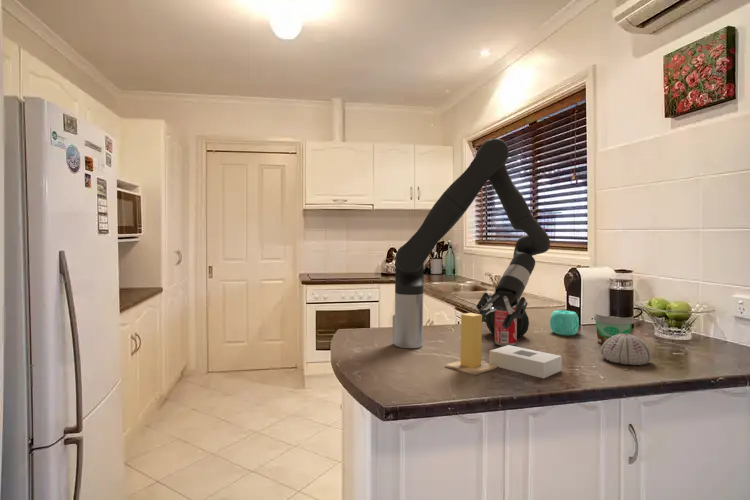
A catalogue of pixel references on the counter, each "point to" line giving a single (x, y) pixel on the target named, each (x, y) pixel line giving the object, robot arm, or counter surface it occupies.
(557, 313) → the teal rounded cube
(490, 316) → the squash
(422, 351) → the counter surface
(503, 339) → the soda can
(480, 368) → the mat
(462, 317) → the yellow block
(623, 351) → the sea urchin shell
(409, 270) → the robot arm
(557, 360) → the white rectangular block
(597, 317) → the food container
